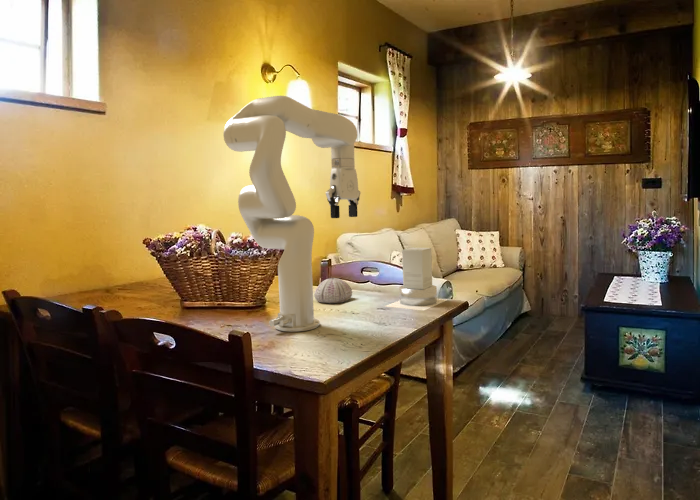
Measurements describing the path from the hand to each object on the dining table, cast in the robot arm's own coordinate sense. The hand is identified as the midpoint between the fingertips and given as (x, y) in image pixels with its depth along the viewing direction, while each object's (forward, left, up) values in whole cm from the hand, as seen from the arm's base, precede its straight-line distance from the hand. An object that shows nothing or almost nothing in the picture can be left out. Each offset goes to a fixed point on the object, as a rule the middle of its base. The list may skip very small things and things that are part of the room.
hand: (344, 217), depth 175 cm
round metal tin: (+10, -21, -28) cm, 37 cm away
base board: (+9, -21, -29) cm, 37 cm away
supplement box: (+10, -21, -24) cm, 33 cm away
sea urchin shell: (+4, +9, -30) cm, 31 cm away
